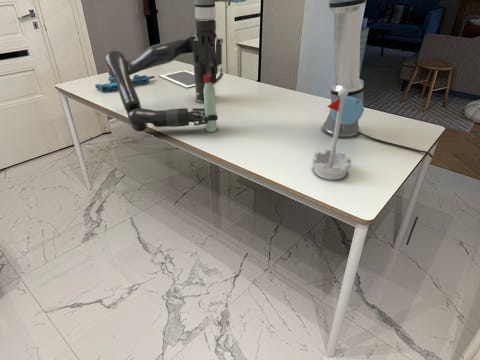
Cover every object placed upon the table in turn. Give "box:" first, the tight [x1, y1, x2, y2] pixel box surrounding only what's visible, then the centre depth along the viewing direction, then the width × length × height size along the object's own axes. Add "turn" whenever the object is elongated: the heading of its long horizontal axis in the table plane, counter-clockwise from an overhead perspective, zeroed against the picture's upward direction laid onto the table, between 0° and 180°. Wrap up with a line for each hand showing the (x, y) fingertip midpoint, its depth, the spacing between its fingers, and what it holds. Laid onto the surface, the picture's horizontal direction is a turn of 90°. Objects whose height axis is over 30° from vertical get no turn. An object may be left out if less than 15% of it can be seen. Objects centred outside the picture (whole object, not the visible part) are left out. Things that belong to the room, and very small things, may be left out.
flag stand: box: [312, 88, 352, 181], centre depth 113 cm, size 13×13×30 cm
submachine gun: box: [94, 74, 155, 92], centre depth 206 cm, size 34×4×25 cm
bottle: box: [203, 83, 218, 133], centre depth 145 cm, size 5×5×24 cm
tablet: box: [159, 69, 195, 89], centre depth 215 cm, size 32×20×1 cm, turn 41°
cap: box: [203, 74, 211, 83], centre depth 139 cm, size 4×4×2 cm
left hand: (216, 115), depth 148 cm, fingers closed on bottle, 4 cm apart
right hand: (208, 81), depth 139 cm, fingers closed on cap, 4 cm apart
